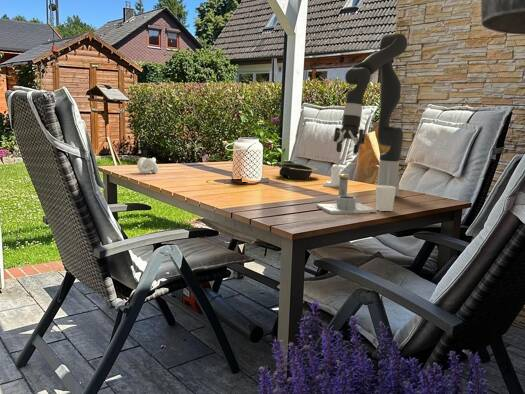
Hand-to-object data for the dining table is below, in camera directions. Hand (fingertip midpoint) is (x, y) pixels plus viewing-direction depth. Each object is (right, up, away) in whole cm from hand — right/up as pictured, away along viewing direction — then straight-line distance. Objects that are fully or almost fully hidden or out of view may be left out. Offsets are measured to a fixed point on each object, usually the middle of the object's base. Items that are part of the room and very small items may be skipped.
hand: (346, 152), depth 211 cm
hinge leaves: (-2, -24, -8) cm, 26 cm away
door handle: (-43, -11, +59) cm, 73 cm away
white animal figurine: (-103, -5, +75) cm, 128 cm away
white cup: (+14, -25, -6) cm, 29 cm away
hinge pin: (0, -21, +11) cm, 23 cm away
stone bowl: (-16, -8, +80) cm, 82 cm away
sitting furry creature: (+2, -14, +51) cm, 53 cm away
